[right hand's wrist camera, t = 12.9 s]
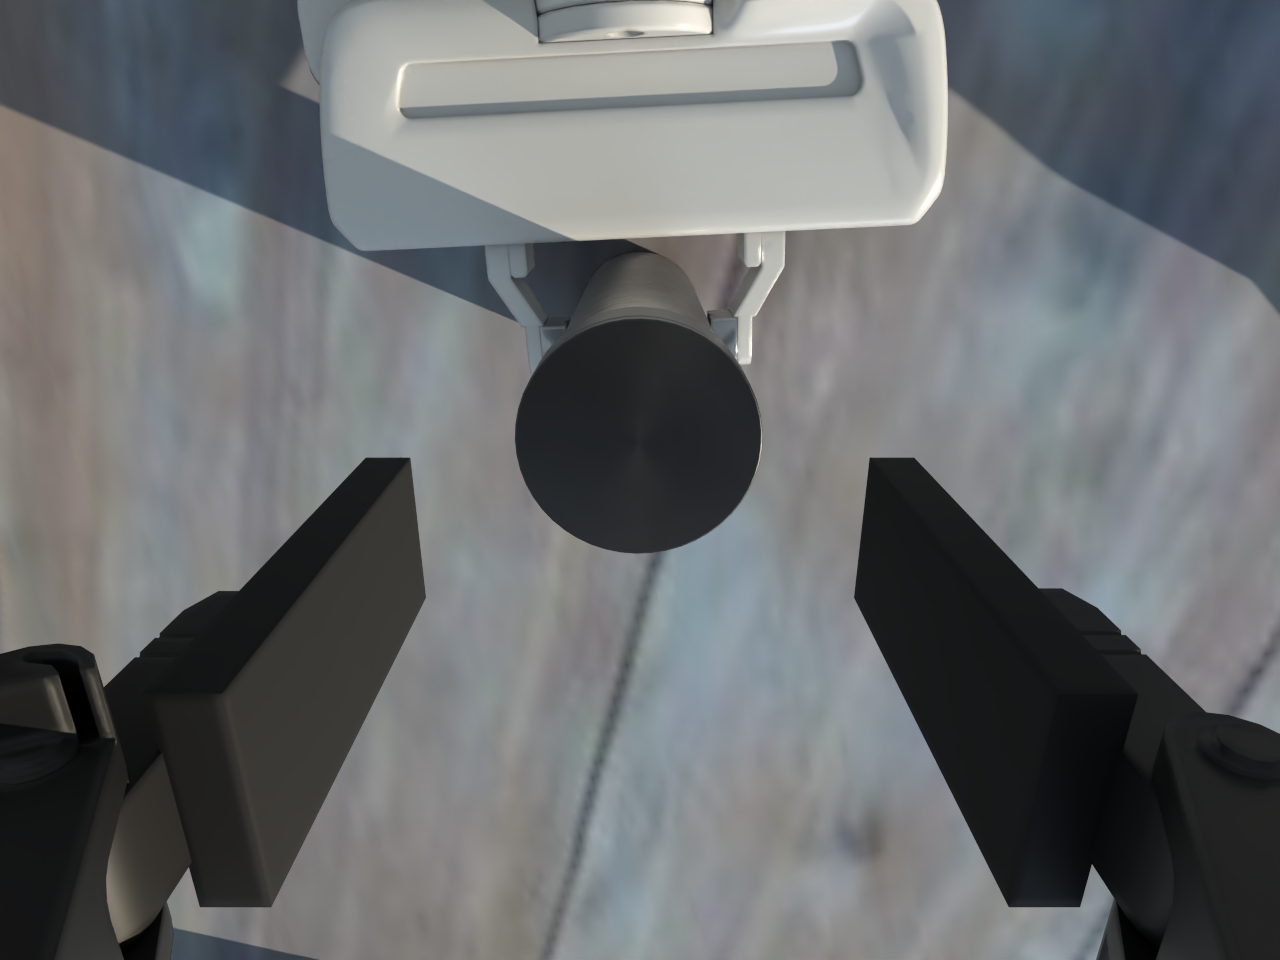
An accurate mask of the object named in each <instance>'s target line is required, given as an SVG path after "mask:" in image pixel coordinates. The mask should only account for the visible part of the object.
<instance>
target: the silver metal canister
mask: <svg viewBox="0 0 1280 960" xmlns="http://www.w3.org/2000/svg"><path fill="white" fill-rule="evenodd" d="M624 307H652V308H660V309H664V310H669V311H673V312H676V313H678V314H681V315H684V316H686V317H689V318H690V319H692V320H694V321H696V322H698V323H700V324H702V325H703V326H704V327H706V328H707V329H708V330H710V331H711V332H713V331H712V328H711V326H710V324H709V322H708V319H707V317H706V315H705V313H704V310H703V308H702V306H701V304H700V301H699V299H698V297H697V295H696V292H695V290H694V288H693V286H692V283H691V282H690V280H689V278H688V277H687V275H686V274H685V273H684V272H683V270H682V269H680V268H679V267H678V266H677V265H676V264H675V263H673V262H672V261H671V260H669V259H667V258H665V257H663V256H660V255H658V254H654V253H650V252H630V253H625V254H622V255H618V256H616V257H614V258H612V259H610V260H609V261H607V262H606V263H604V264H603V265H602V266H601V267H600V268H599V269H598V270H597V271H596V272H595V273H594V274H593V276H592V277H591V279H590V280H589V282H588V284H587V286H586V288H585V291H584V293H583V295H582V297H581V299H580V301H579V304H578V306H577V308H576V310H575V312H574V314H573V316H572V319H571V321H570V323H569V325H568V327H567V329H566V331H568V330H569V329H570V328H572V327H573V326H575V325H576V324H578V323H580V322H581V321H583V320H585V319H587V318H589V317H592V316H594V315H596V314H599V313H602V312H605V311H609V310H613V309H619V308H624Z"/></svg>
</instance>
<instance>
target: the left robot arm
mask: <svg viewBox="0 0 1280 960" xmlns="http://www.w3.org/2000/svg"><path fill="white" fill-rule="evenodd" d="M297 9H298V16H299V22H300V27H301V33H302V39H303V45H304V50H305V55H306V59H307V62H308V65H309V68H310V71H311V73H312V75H313V77H314V78H315V80H316V81H317V83H318V84H319V86H320V88H319V97H320V130H321V148H322V160H323V171H324V180H325V188H326V197H327V203H328V210H329V214H330V218H331V220H332V223H333V224H334V226H335V227H336V228H337V229H338V230H339V231H340V232H341V233H342V234H343V235H344V236H345V237H346V239H347V240H348V241H349V242H350V243H351V244H352V245H353V246H354V247H356V248H357V249H359V250H361V251H378V250H399V249H420V248H440V247H461V246H482V245H484V248H485V256H486V265H487V274H488V280H489V282H490V283H491V285H492V286H493V287H494V289H495V290H496V292H497V293H498V294H499V296H500V297H501V299H502V300H503V301H504V303H505V304H506V306H507V307H508V309H509V310H510V311H511V313H512V314H513V316H514V317H515V318H516V320H517V321H518V323H519V324H520V325H521V327H525V330H526V340H527V350H528V360H529V368H530V372H531V374H533V373H534V371H535V369H536V367H537V365H538V363H539V362H540V360H541V359H542V357H543V356H544V354H545V353H546V351H547V350H548V349H549V348H550V347H551V346H552V345H553V343H554V342H555V341H556V340H557V339H558V338H559V337H561V336H562V335H563V334H564V333H565V332H566V329H567V327H568V325H569V323H570V317H559V318H548V315H547V314H546V312H545V311H544V309H543V307H542V306H541V304H540V303H539V301H538V300H537V298H536V297H535V295H534V294H533V292H532V291H531V289H530V288H529V286H528V284H527V283H526V281H525V280H524V277H526V276H527V275H528V274H529V273H530V272H531V271H532V270H533V269H534V268H535V261H534V249H533V243H544V242H565V241H586V240H606V239H627V238H648V237H669V236H689V235H710V234H731V233H737V251H738V258H739V259H740V261H742V262H743V263H744V264H745V265H746V266H747V267H750V269H749V270H748V272H747V274H746V276H745V278H744V280H743V282H742V284H741V285H740V287H739V289H738V291H737V293H736V295H735V297H734V298H733V300H732V302H731V304H730V306H729V309H727V310H712V311H707V319H708V322H709V324H710V326H711V328H712V331H713V333H714V334H715V335H716V336H717V337H718V338H719V339H720V340H721V341H722V342H723V343H724V344H725V345H726V346H727V347H728V348H729V350H730V351H731V352H732V353H733V355H734V356H735V358H736V359H737V361H738V363H739V365H741V364H750V363H751V356H752V316H756V314H757V313H758V311H759V309H760V307H761V306H762V304H763V302H764V301H765V299H766V297H767V295H768V294H769V292H770V290H771V289H772V287H773V285H774V283H775V282H776V280H777V278H778V277H779V275H780V273H781V271H782V270H783V268H784V264H785V231H793V230H814V229H835V228H855V227H876V226H896V225H911V224H914V223H916V222H918V221H919V220H920V219H921V218H922V216H923V215H924V214H925V213H926V212H927V210H928V209H929V208H930V207H931V205H932V204H933V203H934V201H935V200H936V199H937V197H938V196H939V194H940V192H941V190H942V186H943V182H944V173H945V165H946V150H947V127H948V81H947V59H946V41H945V31H944V24H943V19H942V15H941V11H940V7H939V4H938V2H937V0H297Z"/></svg>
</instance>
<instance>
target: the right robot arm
mask: <svg viewBox="0 0 1280 960" xmlns="http://www.w3.org/2000/svg"><path fill="white" fill-rule="evenodd" d="M425 598H426V595H425V586H424V577H423V568H422V559H421V550H420V541H419V532H418V523H417V514H416V505H415V497H414V488H413V479H412V470H411V461H410V458H365V459H364V460H363V461H362V462H361V463H360V465H359V466H358V467H357V468H356V469H355V470H354V471H353V472H352V473H351V474H350V475H349V476H348V477H347V478H346V479H345V480H344V481H343V482H342V483H341V485H340V486H339V487H338V488H337V489H336V490H335V491H334V492H333V493H332V494H331V495H330V496H329V497H328V498H327V499H326V500H325V501H324V502H323V503H322V504H321V506H320V507H319V508H318V509H317V510H316V511H315V512H314V513H313V514H312V515H311V516H310V517H309V518H308V519H307V520H306V521H305V522H304V523H303V524H302V526H301V527H300V528H299V529H298V530H297V531H296V532H295V533H294V534H293V535H292V536H291V537H290V538H289V539H288V540H287V541H286V542H285V543H284V544H283V546H282V547H281V548H280V549H279V550H278V551H277V552H276V553H275V554H274V555H273V556H272V557H271V558H270V559H269V560H268V561H267V562H266V563H265V564H264V566H263V567H262V568H261V569H260V570H259V571H258V572H257V573H256V574H255V575H254V576H253V577H252V578H251V579H250V580H249V581H248V582H247V583H246V584H245V586H244V587H243V588H242V589H241V590H240V591H218V592H216V593H214V594H213V595H211V596H209V597H207V598H205V599H204V600H202V601H200V602H198V603H196V604H194V605H193V606H191V607H189V608H187V609H185V610H184V611H182V612H181V613H180V614H179V615H178V616H177V617H176V618H175V619H174V620H173V621H172V622H171V623H170V624H169V625H168V626H167V627H166V628H165V629H164V630H163V631H162V632H161V633H160V637H159V638H155V639H154V640H152V641H151V642H150V643H149V644H148V645H147V646H146V647H145V648H144V649H143V650H142V651H141V652H140V657H135V658H134V659H133V660H132V661H131V662H130V663H129V664H128V665H127V666H126V667H125V668H124V669H122V670H121V671H120V672H119V673H118V674H117V675H116V676H115V677H114V678H113V679H112V680H111V681H110V682H109V683H108V684H107V685H106V686H105V687H103V684H102V680H101V677H100V673H99V670H98V667H97V663H96V660H95V657H94V654H92V653H91V652H89V651H88V650H86V649H84V648H83V647H81V646H74V645H66V644H50V645H40V646H31V647H26V648H22V649H18V650H14V651H10V652H6V653H2V654H0V960H171V953H172V945H173V938H174V932H173V925H172V919H171V915H170V911H169V908H168V905H167V900H168V898H169V896H170V895H171V893H172V892H173V890H174V889H175V887H176V886H177V884H178V883H179V881H180V879H181V878H182V876H183V875H184V873H185V872H186V870H187V869H188V867H189V869H190V872H191V876H192V880H193V883H194V887H195V891H196V894H197V898H198V901H199V905H200V907H271V906H272V904H273V902H274V900H275V898H276V896H277V894H278V892H279V890H280V888H281V886H282V884H283V882H284V880H285V878H286V876H287V874H288V872H289V870H290V868H291V866H292V864H293V862H294V860H295V858H296V856H297V854H298V852H299V850H300V848H301V846H302V844H303V842H304V840H305V838H306V836H307V834H308V832H309V830H310V828H311V826H312V824H313V822H314V820H315V818H316V816H317V814H318V812H319V810H320V808H321V806H322V804H323V802H324V800H325V798H326V796H327V794H328V792H329V790H330V788H331V786H332V784H333V782H334V780H335V778H336V776H337V774H338V772H339V770H340V768H341V766H342V764H343V762H344V760H345V758H346V756H347V754H348V752H349V750H350V748H351V746H352V744H353V742H354V740H355V738H356V736H357V734H358V732H359V730H360V728H361V726H362V724H363V722H364V720H365V718H366V716H367V714H368V712H369V710H370V708H371V706H372V704H373V702H374V700H375V698H376V696H377V694H378V692H379V690H380V688H381V686H382V684H383V682H384V680H385V678H386V676H387V674H388V672H389V670H390V668H391V666H392V664H393V662H394V660H395V658H396V656H397V654H398V652H399V650H400V648H401V646H402V644H403V642H404V640H405V638H406V636H407V634H408V632H409V630H410V628H411V626H412V624H413V622H414V620H415V618H416V616H417V614H418V612H419V610H420V608H421V606H422V604H423V602H424V600H425ZM854 598H855V600H856V602H857V604H858V606H859V608H860V610H861V612H862V614H863V616H864V618H865V620H866V622H867V624H868V626H869V628H870V630H871V632H872V634H873V636H874V638H875V640H876V642H877V644H878V646H879V648H880V650H881V652H882V654H883V656H884V658H885V660H886V662H887V664H888V666H889V668H890V670H891V672H892V674H893V676H894V678H895V680H896V682H897V684H898V686H899V688H900V690H901V692H902V694H903V696H904V698H905V700H906V702H907V704H908V706H909V708H910V710H911V712H912V714H913V716H914V718H915V720H916V722H917V724H918V726H919V728H920V730H921V732H922V734H923V736H924V738H925V740H926V742H927V744H928V746H929V748H930V750H931V752H932V754H933V756H934V758H935V760H936V762H937V764H938V766H939V768H940V770H941V772H942V774H943V776H944V778H945V780H946V782H947V784H948V786H949V788H950V790H951V792H952V794H953V796H954V798H955V800H956V802H957V804H958V806H959V808H960V810H961V812H962V814H963V816H964V818H965V820H966V822H967V824H968V826H969V828H970V830H971V832H972V834H973V836H974V838H975V840H976V842H977V844H978V846H979V848H980V850H981V852H982V854H983V856H984V858H985V860H986V862H987V864H988V866H989V868H990V870H991V872H992V874H993V876H994V878H995V880H996V882H997V884H998V886H999V888H1000V890H1001V892H1002V894H1003V896H1004V898H1005V900H1006V902H1007V904H1008V906H1009V907H1080V905H1081V901H1082V898H1083V894H1084V891H1085V887H1086V883H1087V880H1088V876H1089V872H1090V869H1091V865H1092V864H1093V866H1094V868H1095V869H1096V871H1097V872H1098V874H1099V875H1100V877H1101V878H1102V880H1103V881H1104V883H1105V884H1106V886H1107V887H1108V889H1109V891H1110V892H1111V894H1112V895H1113V897H1114V901H1113V905H1112V908H1111V911H1110V915H1109V918H1108V922H1107V925H1106V928H1105V932H1104V935H1103V938H1102V942H1101V945H1100V949H1099V952H1098V955H1097V959H1096V960H1280V734H1279V733H1277V732H1275V731H1273V730H1270V729H1268V728H1266V727H1264V726H1262V725H1260V724H1257V723H1253V722H1250V721H1246V720H1243V719H1240V718H1236V717H1233V716H1230V715H1223V714H1215V713H1206V712H1205V711H1204V710H1203V709H1202V708H1201V707H1200V706H1199V705H1198V704H1197V703H1196V702H1195V701H1194V700H1193V699H1192V698H1191V697H1190V696H1189V695H1188V694H1187V693H1185V692H1184V691H1183V690H1182V689H1181V688H1180V687H1179V686H1178V685H1177V684H1176V683H1175V682H1174V681H1173V680H1172V679H1171V678H1170V677H1169V676H1168V675H1167V674H1166V673H1165V672H1164V671H1163V670H1162V669H1160V668H1159V667H1158V666H1157V665H1156V664H1155V663H1154V662H1153V661H1152V660H1151V659H1150V658H1149V657H1148V656H1147V655H1141V649H1140V648H1139V647H1138V646H1136V645H1135V644H1134V643H1133V642H1132V641H1131V640H1130V639H1129V638H1128V637H1127V636H1126V635H1121V630H1120V629H1119V628H1118V627H1117V626H1116V625H1115V624H1114V623H1113V622H1111V621H1110V620H1109V619H1108V618H1107V617H1106V616H1105V615H1104V614H1103V613H1102V612H1101V611H1100V610H1099V609H1098V608H1097V607H1095V606H1093V605H1091V604H1089V603H1087V602H1086V601H1084V600H1082V599H1080V598H1078V597H1077V596H1075V595H1073V594H1071V593H1069V592H1067V591H1066V590H1064V589H1038V588H1037V587H1036V586H1035V584H1034V583H1033V582H1032V581H1031V580H1030V579H1029V578H1028V577H1027V576H1026V575H1025V574H1024V573H1023V572H1022V571H1021V570H1020V569H1019V568H1018V567H1017V566H1016V564H1015V563H1014V562H1013V561H1012V560H1011V559H1010V558H1009V557H1008V556H1007V555H1006V554H1005V553H1004V552H1003V551H1002V550H1001V549H1000V548H999V547H998V546H997V544H996V543H995V542H994V541H993V540H992V539H991V538H990V537H989V536H988V535H987V534H986V533H985V532H984V531H983V530H982V529H981V528H980V527H979V526H978V524H977V523H976V522H975V521H974V520H973V519H972V518H971V517H970V516H969V515H968V514H967V513H966V512H965V511H964V510H963V509H962V508H961V507H960V506H959V504H958V503H957V502H956V501H955V500H954V499H953V498H952V497H951V496H950V495H949V494H948V493H947V492H946V491H945V490H944V489H943V488H942V487H941V486H940V485H939V483H938V482H937V481H936V480H935V479H934V478H933V477H932V476H931V475H930V474H929V473H928V472H927V471H926V470H925V469H924V468H923V467H922V466H921V465H920V463H919V462H918V461H917V460H916V459H915V458H870V461H869V470H868V479H867V488H866V497H865V505H864V514H863V523H862V532H861V541H860V550H859V559H858V568H857V577H856V586H855V595H854Z"/></svg>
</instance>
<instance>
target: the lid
mask: <svg viewBox="0 0 1280 960" xmlns="http://www.w3.org/2000/svg"><path fill="white" fill-rule="evenodd" d="M515 444H516V454H517V458H518V463H519V467H520V470H521V473H522V475H523V478H524V481H525V483H526V485H527V487H528V489H529V491H530V492H531V494H532V496H533V498H534V499H535V500H536V502H537V503H538V504H539V506H540V507H541V508H542V510H543V511H544V512H545V513H546V514H547V515H548V516H549V517H550V518H551V519H552V520H553V521H554V522H555V523H557V524H558V525H559V526H560V527H562V528H563V529H564V530H566V531H567V532H569V533H570V534H572V535H573V536H575V537H577V538H579V539H581V540H583V541H585V542H587V543H589V544H591V545H595V546H598V547H601V548H604V549H607V550H612V551H617V552H624V553H654V552H660V551H666V550H670V549H674V548H677V547H681V546H683V545H686V544H688V543H691V542H693V541H695V540H697V539H699V538H701V537H702V536H704V535H706V534H708V533H709V532H710V531H712V530H713V529H715V528H716V527H717V526H719V525H720V524H721V523H722V522H723V521H724V520H725V519H726V518H727V517H729V516H730V515H731V514H732V512H733V511H734V510H735V509H736V508H737V506H738V505H739V504H740V503H741V501H742V500H743V498H744V496H745V495H746V493H747V492H748V490H749V488H750V486H751V484H752V482H753V479H754V477H755V475H756V471H757V468H758V465H759V461H760V456H761V449H762V423H761V415H760V411H759V407H758V404H757V400H756V397H755V395H754V393H753V390H752V388H751V386H750V384H749V382H748V380H747V378H746V376H745V374H744V372H743V370H742V368H741V366H740V365H739V363H738V361H737V359H736V358H735V356H734V355H733V353H732V352H731V351H730V350H729V348H728V347H727V346H726V345H725V344H724V343H723V342H722V341H721V340H720V339H719V338H718V337H717V336H716V335H715V334H714V333H713V332H711V331H710V330H708V329H707V328H706V327H704V326H703V325H702V324H700V323H698V322H696V321H694V320H692V319H690V318H689V317H686V316H684V315H681V314H678V313H676V312H673V311H669V310H664V309H660V308H652V307H624V308H619V309H613V310H609V311H605V312H602V313H599V314H596V315H594V316H592V317H589V318H587V319H585V320H583V321H581V322H580V323H578V324H576V325H575V326H573V327H572V328H570V329H569V330H568V331H566V332H565V333H564V334H563V335H562V336H561V337H559V338H558V339H557V340H556V341H555V342H554V343H553V345H552V346H551V347H550V348H549V349H548V350H547V351H546V353H545V354H544V356H543V357H542V359H541V360H540V362H539V363H538V365H537V367H536V369H535V371H534V373H533V375H532V377H531V379H530V381H529V383H528V385H527V387H526V389H525V391H524V393H523V396H522V399H521V402H520V405H519V408H518V413H517V419H516V426H515Z"/></svg>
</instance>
